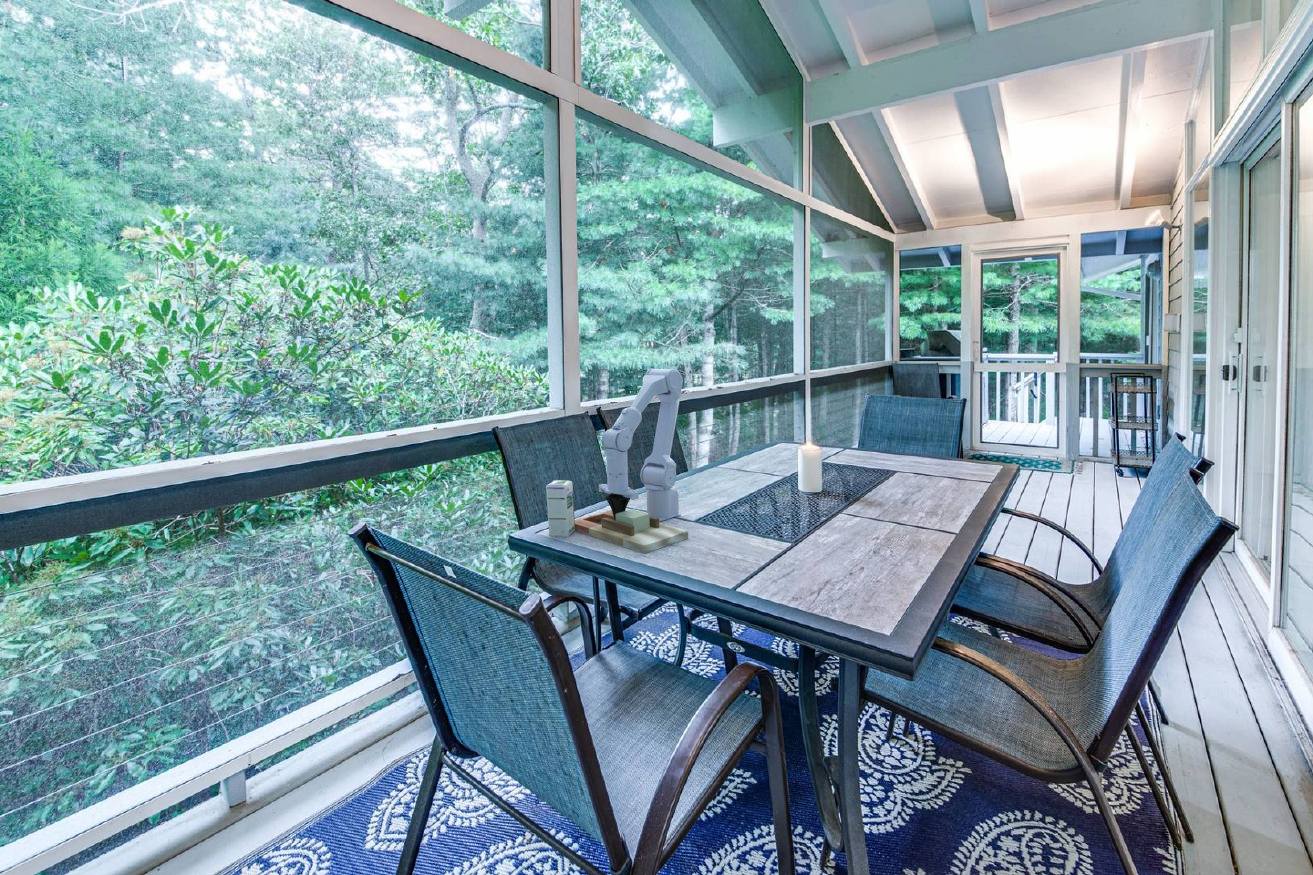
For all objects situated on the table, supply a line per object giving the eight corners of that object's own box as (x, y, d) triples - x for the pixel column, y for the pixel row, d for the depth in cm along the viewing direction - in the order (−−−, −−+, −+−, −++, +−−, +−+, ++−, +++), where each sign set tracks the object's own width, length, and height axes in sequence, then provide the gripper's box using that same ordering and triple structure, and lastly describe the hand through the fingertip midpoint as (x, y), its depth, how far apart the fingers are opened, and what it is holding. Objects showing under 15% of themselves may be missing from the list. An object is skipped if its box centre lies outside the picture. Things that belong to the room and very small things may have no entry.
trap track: (612, 516, 188) (611, 501, 188) (688, 538, 166) (687, 521, 166) (569, 528, 177) (568, 513, 177) (644, 553, 155) (644, 536, 155)
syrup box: (568, 537, 170) (566, 484, 167) (548, 536, 171) (545, 484, 169) (575, 530, 175) (573, 480, 173) (555, 529, 176) (553, 479, 174)
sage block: (632, 523, 174) (631, 509, 174) (649, 528, 169) (649, 513, 169) (616, 527, 170) (615, 513, 170) (633, 533, 165) (633, 518, 165)
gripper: (589, 471, 174) (591, 518, 176) (624, 478, 164) (625, 528, 166) (608, 467, 179) (610, 513, 181) (643, 474, 168) (644, 523, 171)
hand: (619, 520), depth 174 cm, fingers closed
